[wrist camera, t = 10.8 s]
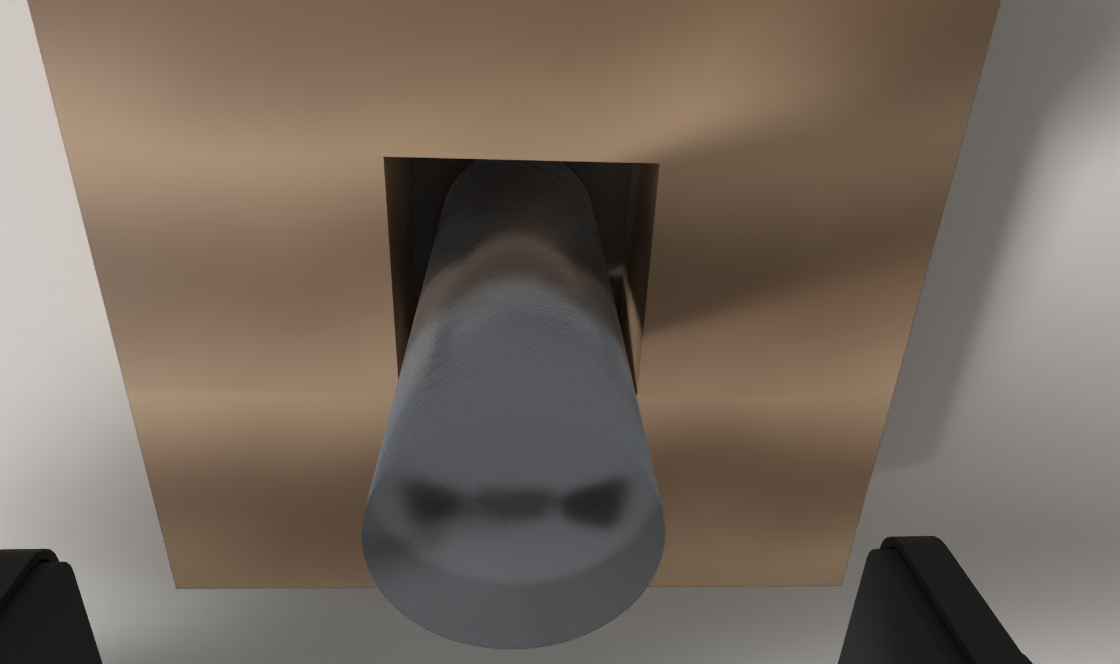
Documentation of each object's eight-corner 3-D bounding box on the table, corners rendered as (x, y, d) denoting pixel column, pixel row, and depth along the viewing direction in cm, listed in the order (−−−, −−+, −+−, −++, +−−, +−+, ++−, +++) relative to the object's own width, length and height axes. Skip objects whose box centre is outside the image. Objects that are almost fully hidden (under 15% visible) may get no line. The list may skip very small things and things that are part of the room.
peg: (590, 294, 22) (651, 648, 12) (444, 291, 22) (372, 650, 11) (598, 151, 20) (680, 418, 10) (439, 147, 20) (348, 415, 10)
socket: (797, 492, 26) (840, 586, 22) (225, 491, 25) (176, 588, 21) (942, -164, 17) (1049, -180, 14) (86, -204, 16) (-32, -233, 13)
